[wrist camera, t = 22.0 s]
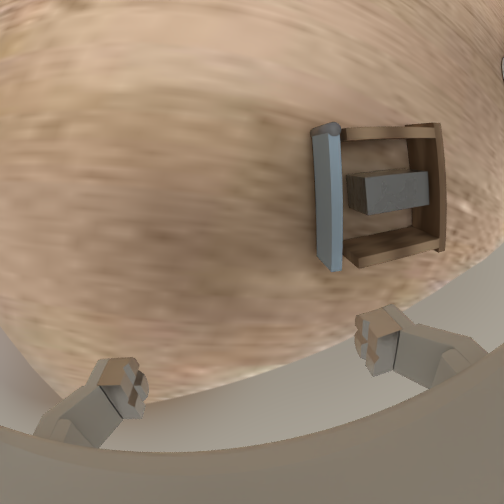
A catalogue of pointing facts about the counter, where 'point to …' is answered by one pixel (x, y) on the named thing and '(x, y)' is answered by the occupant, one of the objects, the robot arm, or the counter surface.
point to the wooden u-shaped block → (423, 217)
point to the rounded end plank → (328, 194)
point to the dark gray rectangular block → (387, 190)
